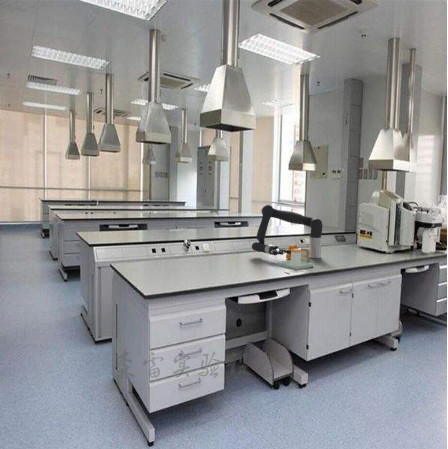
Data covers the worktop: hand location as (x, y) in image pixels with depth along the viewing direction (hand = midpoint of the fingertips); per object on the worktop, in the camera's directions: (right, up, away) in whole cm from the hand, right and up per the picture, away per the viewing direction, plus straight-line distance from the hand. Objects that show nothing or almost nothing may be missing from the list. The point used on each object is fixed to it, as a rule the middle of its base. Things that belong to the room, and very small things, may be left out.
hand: (286, 253), depth 280 cm
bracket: (+9, -7, +22) cm, 25 cm away
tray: (+5, -10, -6) cm, 13 cm away
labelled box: (+5, -9, -6) cm, 12 cm away
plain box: (+15, -9, +4) cm, 18 cm away
